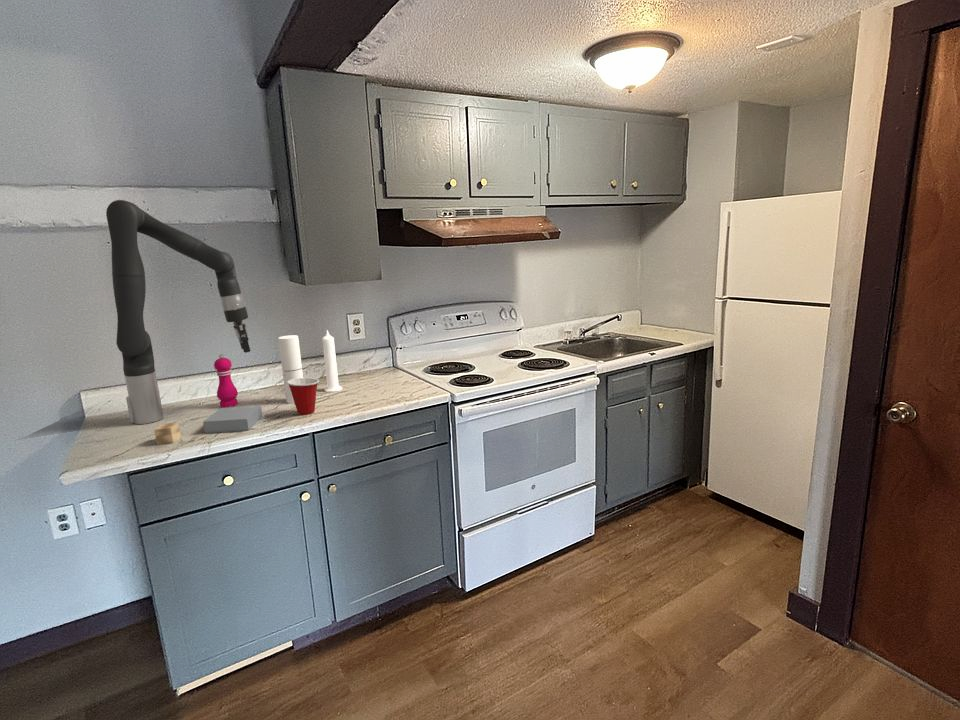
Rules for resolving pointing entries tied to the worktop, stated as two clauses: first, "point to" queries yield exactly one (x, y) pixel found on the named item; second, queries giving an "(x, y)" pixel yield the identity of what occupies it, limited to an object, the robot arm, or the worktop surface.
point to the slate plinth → (233, 419)
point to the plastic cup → (304, 394)
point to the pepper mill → (225, 383)
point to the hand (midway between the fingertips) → (246, 350)
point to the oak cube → (167, 433)
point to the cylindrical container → (290, 362)
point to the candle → (330, 364)
